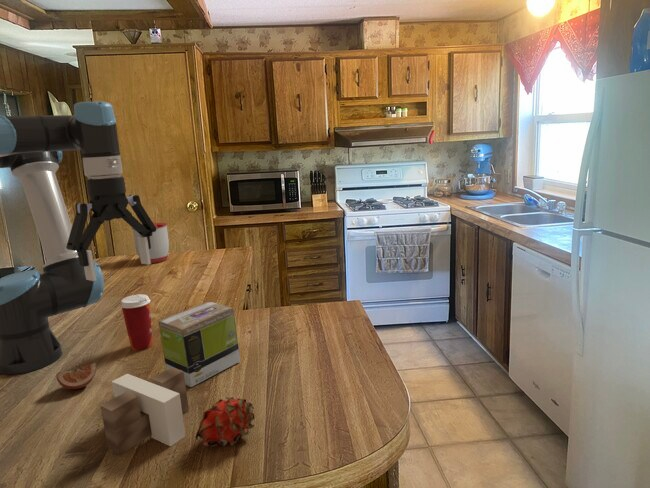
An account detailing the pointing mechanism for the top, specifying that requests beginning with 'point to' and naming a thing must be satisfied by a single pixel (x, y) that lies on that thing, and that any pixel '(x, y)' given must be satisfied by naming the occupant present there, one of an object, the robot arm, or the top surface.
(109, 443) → the walnut slotted plate
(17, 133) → the robot arm
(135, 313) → the paper cup
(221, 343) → the tea box
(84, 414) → the top surface
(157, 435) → the cream slotted plate
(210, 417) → the dragon fruit
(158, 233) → the citrus juicer
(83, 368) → the fruit slice
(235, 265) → the top surface
